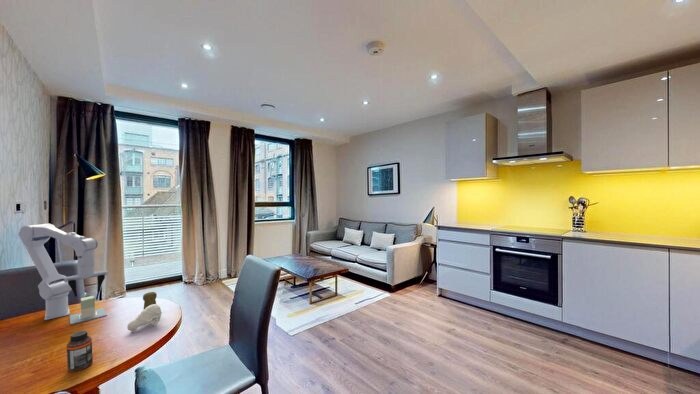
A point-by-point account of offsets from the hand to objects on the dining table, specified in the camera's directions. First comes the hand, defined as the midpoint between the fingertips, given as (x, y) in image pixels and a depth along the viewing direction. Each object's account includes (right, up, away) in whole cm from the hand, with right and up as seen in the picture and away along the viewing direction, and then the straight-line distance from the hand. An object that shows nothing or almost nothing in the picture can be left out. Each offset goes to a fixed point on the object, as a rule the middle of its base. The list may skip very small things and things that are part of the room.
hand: (87, 293), depth 129 cm
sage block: (0, -6, 0) cm, 6 cm away
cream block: (0, -10, 0) cm, 10 cm away
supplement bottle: (+33, -11, -38) cm, 51 cm away
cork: (+30, -10, -1) cm, 32 cm away
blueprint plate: (0, -10, 0) cm, 10 cm away
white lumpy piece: (+35, -11, -11) cm, 38 cm away
